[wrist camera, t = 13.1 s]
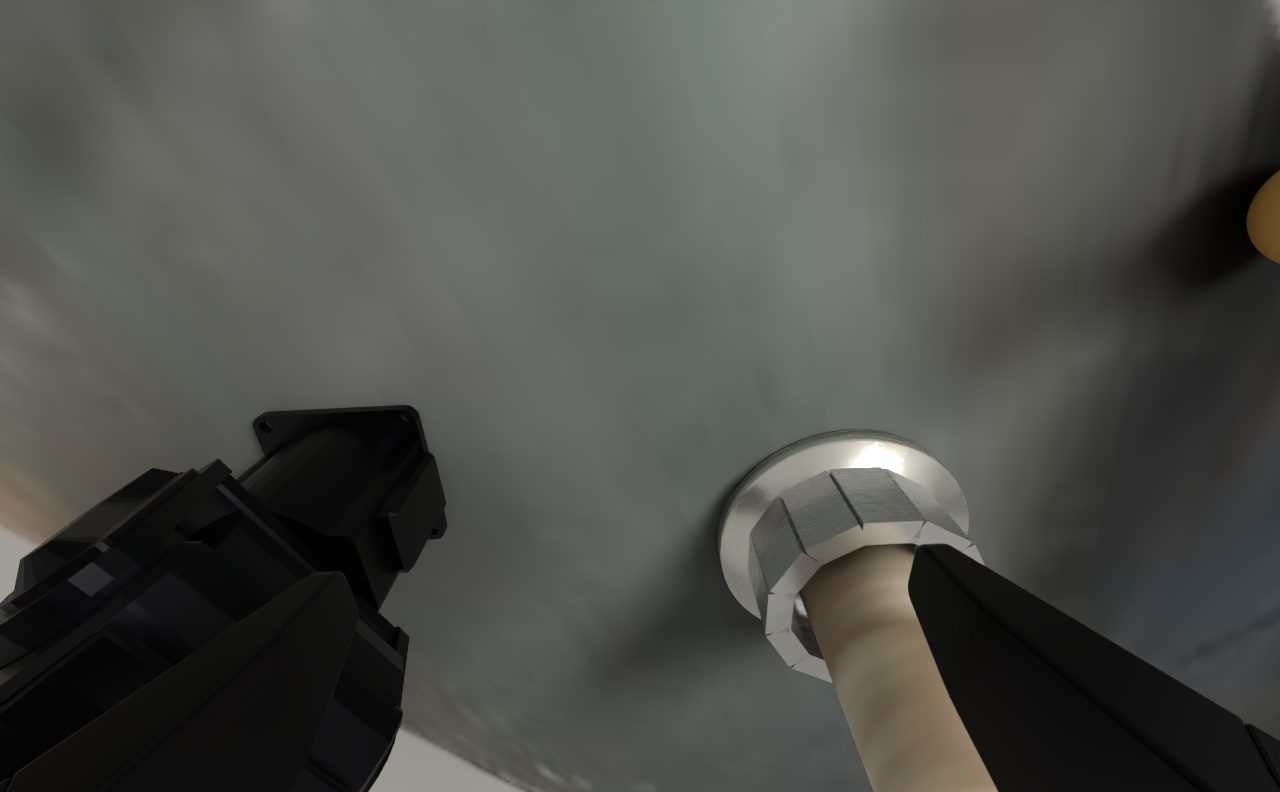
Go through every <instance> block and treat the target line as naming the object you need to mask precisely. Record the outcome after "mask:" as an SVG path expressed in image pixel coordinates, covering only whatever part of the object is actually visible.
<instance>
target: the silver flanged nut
mask: <svg viewBox="0 0 1280 792" xmlns="http://www.w3.org/2000/svg"><path fill="white" fill-rule="evenodd" d="M968 521H969V516H968V509H967V503H966V500H965V498H964V495H963V492H962V490H961V488H960V487H959V485H958V483H957V481H956V480H955V479H954V478H953V476H952V475H951V474H950V473H949V472H948V471H947V470H946V469H945V467H944V466H943V465H942V464H941V463H940V462H939V461H938V460H937V459H936V458H935V457H933V456H932V455H931V454H930V453H929V452H927V451H926V450H925V449H924V448H922V447H920V446H919V445H917V444H915V443H914V442H912V441H910V440H907V439H905V438H902V437H900V436H897V435H893V434H889V433H885V432H880V431H872V430H842V431H833V432H828V433H823V434H819V435H815V436H812V437H809V438H806V439H803V440H800V441H797V442H795V443H793V444H791V445H789V446H787V447H784V448H782V449H781V450H779V451H777V452H776V453H774V454H772V455H771V456H769V457H768V458H766V459H765V460H764V461H762V462H761V463H760V464H758V465H757V466H756V467H755V468H754V469H753V470H752V471H751V472H750V473H749V474H748V475H746V476H745V477H744V479H743V480H742V481H741V482H740V484H739V485H738V486H737V487H736V489H735V490H734V492H733V493H732V495H731V496H730V498H729V500H728V501H727V504H726V506H725V508H724V511H723V513H722V516H721V520H720V523H719V529H718V538H717V539H718V552H719V556H720V561H721V565H722V570H723V574H724V578H725V580H726V582H727V585H728V587H729V589H730V590H731V592H732V593H733V595H734V597H735V598H736V599H737V600H738V601H739V602H740V604H741V605H742V606H743V607H744V608H746V609H747V610H748V611H749V612H750V613H752V614H753V615H754V616H756V617H758V618H759V619H761V620H762V623H763V627H764V631H765V634H766V637H767V638H768V640H769V641H770V642H771V643H772V645H773V646H774V647H775V649H776V650H777V651H778V653H779V654H780V655H781V657H782V658H783V659H784V660H785V662H786V663H787V664H788V666H791V667H792V669H795V670H798V671H800V672H803V673H806V674H809V675H811V676H814V677H817V678H820V679H823V680H825V681H828V682H831V683H833V682H832V679H831V677H830V674H829V671H828V669H827V666H826V663H825V661H824V658H823V655H822V653H821V650H820V647H819V645H818V642H817V639H816V637H815V634H814V631H813V629H812V626H811V623H810V621H809V618H808V616H807V613H806V610H805V608H804V605H803V602H802V600H801V597H800V594H799V591H800V590H801V589H802V587H803V586H804V585H805V584H806V583H807V582H808V580H809V579H810V578H811V577H812V576H813V575H814V573H815V572H816V571H817V570H818V569H819V568H820V566H821V565H824V564H826V563H828V562H830V561H832V560H834V559H837V558H839V557H841V556H843V555H845V554H847V553H850V552H852V551H854V550H856V549H858V548H860V547H863V546H865V545H882V544H903V543H909V544H910V546H911V547H912V548H913V550H914V551H916V549H917V547H918V546H919V545H922V544H937V543H944V544H948V545H950V546H952V547H954V548H956V549H957V550H959V551H961V552H962V553H964V554H966V555H967V556H969V557H971V558H972V559H974V560H976V561H977V562H979V563H981V564H982V565H984V563H983V561H982V559H981V556H980V554H979V552H978V550H977V548H976V546H975V544H974V543H973V542H972V541H971V539H970V538H969V537H968V536H967V533H968ZM984 566H985V565H984Z"/></svg>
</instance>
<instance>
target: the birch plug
mask: <svg viewBox="0 0 1280 792" xmlns="http://www.w3.org/2000/svg"><path fill="white" fill-rule="evenodd" d="M914 555H915V551H914V550H913V548H912V547H911V546H910V544H909V543H903V544H882V545H865V546H863V547H860V548H858V549H856V550H854V551H852V552H850V553H847V554H845V555H843V556H841V557H839V558H837V559H834V560H832V561H830V562H828V563H826V564H824V565H821V566H820V568H819V569H818V570H817V571H816V572H815V573H814V575H813V576H812V577H811V578H810V579H809V580H808V582H807V583H806V584H805V585H804V586H803V587H802V589H801V590H800V591H799V594H800V597H801V600H802V602H803V605H804V608H805V610H806V613H807V616H808V618H809V621H810V623H811V626H812V629H813V631H814V634H815V637H816V639H817V642H818V645H819V647H820V650H821V653H822V655H823V658H824V661H825V663H826V666H827V669H828V671H829V674H830V677H831V679H832V682H833V685H834V687H835V690H836V693H837V695H838V698H839V701H840V703H841V706H842V709H843V711H844V714H845V717H846V719H847V722H848V725H849V727H850V730H851V732H852V735H853V738H854V740H855V743H856V746H857V748H858V751H859V754H860V756H861V759H862V762H863V764H864V767H865V770H866V772H867V775H868V778H869V780H870V783H871V786H872V788H873V791H874V792H998V791H997V789H996V787H995V785H994V783H993V781H992V779H991V777H990V775H989V773H988V771H987V769H986V767H985V765H984V763H983V762H982V760H981V758H980V756H979V754H978V752H977V750H976V748H975V746H974V744H973V742H972V740H971V738H970V736H969V734H968V733H967V731H966V729H965V727H964V725H963V723H962V721H961V719H960V717H959V715H958V713H957V711H956V709H955V707H954V705H953V703H952V701H951V699H950V697H949V695H948V692H947V690H946V688H945V685H944V683H943V681H942V678H941V676H940V673H939V671H938V668H937V666H936V663H935V661H934V658H933V656H932V653H931V651H930V648H929V646H928V643H927V641H926V638H925V636H924V633H923V631H922V628H921V626H920V623H919V621H918V618H917V616H916V613H915V611H914V608H913V606H912V603H911V600H910V598H909V593H908V581H909V576H910V572H911V568H912V563H913V559H914Z"/></svg>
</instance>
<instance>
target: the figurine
mask: <svg viewBox="0 0 1280 792" xmlns="http://www.w3.org/2000/svg"><path fill="white" fill-rule="evenodd" d="M1247 231H1248V235H1249V237H1250V239H1251V241H1252V243H1253V244H1254V246H1255V247H1256V248H1257V249H1258V250H1259V251H1260V252H1261V253H1262V254H1263V255H1265V256H1266V257H1268V258H1269V259H1271V260H1273V261H1275V262H1277V263H1279V264H1280V170H1279V171H1278V172H1276V173H1275V174H1274V175H1273V176H1272V177H1271V178H1270V179H1268V180H1267V181H1266V182H1265V184H1264V185H1263V186H1262V187H1261V188H1260V189H1259V191H1258V192H1257V194H1256V195H1255V197H1254V198H1253V200H1252V202H1251V205H1250V207H1249V210H1248V214H1247Z"/></svg>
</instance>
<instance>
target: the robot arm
mask: <svg viewBox="0 0 1280 792" xmlns="http://www.w3.org/2000/svg"><path fill="white" fill-rule="evenodd" d="M401 415H404V416H407V417H408V418H409V420H410V422H407V421H404V420H403V419H402V418H401ZM266 422H268V423H269V424H271V426H272V427H273V428H271V427H269V426H268V425H267V424H266ZM253 427H254V430H255V433H256V435H257V437H258V440H259V442H260V445H261V447H262V450H263V452H264V454H265V456H264V457H263V458H261V459H260V460H259V461H258V462H257V463H256V464H254V465H253V466H252V467H251V468H250V469H248V470H247V471H246V472H245V473H244V474H242V475H241V476H240V477H239V478H238V479H237V480H236V479H234V478H233V477H232V476H231V475H230V474H231V473H232V470H230V469H229V468H228V467H227V466H226V465H225V464H224V463H223V462H222V461H221V460H220V459H217V460H215V461H213V462H212V463H210V464H208V465H207V466H205V467H203V468H201V469H200V470H198V471H196V470H195V469H194V468H191V469H190V470H188V471H186V472H184V473H183V472H181V473H174V472H170V471H165V470H160V469H155V468H152V469H150V470H149V471H147V472H145V473H144V474H142V475H140V476H139V477H137V478H136V479H134V480H133V481H131V482H130V483H128V484H127V485H125V486H124V487H122V488H121V489H119V490H118V491H116V492H115V493H113V494H112V495H110V496H109V497H107V498H106V499H104V500H103V501H101V502H100V503H98V504H97V505H95V506H94V507H93V508H91V509H90V510H88V511H87V512H85V513H84V514H82V515H81V516H79V517H78V518H77V519H75V520H74V521H72V522H71V523H70V524H68V525H67V526H66V527H64V528H63V529H61V530H60V531H59V532H57V533H56V534H55V535H53V536H52V537H51V538H49V539H48V540H47V541H45V542H44V543H42V544H41V545H40V546H38V547H37V548H36V549H34V550H33V551H32V552H30V553H29V554H28V555H26V556H25V557H23V558H22V559H21V560H20V564H19V569H18V574H17V579H16V584H15V589H14V591H13V592H12V593H11V594H10V595H8V596H7V597H6V598H5V599H4V600H3V601H2V602H1V603H0V792H368V791H369V790H370V788H371V787H372V785H373V784H374V782H375V781H376V779H377V778H378V776H379V774H380V772H381V771H382V769H383V767H384V765H385V763H386V762H387V760H388V757H389V755H390V753H391V750H392V747H393V745H394V742H395V738H396V734H397V732H398V730H399V728H400V726H401V721H402V716H403V712H402V709H400V707H401V699H402V691H403V683H404V675H405V667H406V660H407V652H408V644H409V636H408V635H407V634H406V633H405V632H404V631H403V630H402V629H401V628H400V627H394V626H393V625H392V624H391V623H390V622H389V621H387V620H386V619H385V618H384V617H383V616H382V615H381V614H380V613H379V612H378V611H379V609H380V607H381V606H382V604H383V602H384V600H385V598H386V596H387V595H388V593H389V591H390V589H391V587H392V585H393V584H394V582H395V580H396V578H397V576H398V574H399V573H408V572H409V571H410V570H411V569H412V567H413V566H414V565H415V563H416V561H417V559H418V557H419V555H420V553H421V551H422V549H423V547H424V545H425V544H426V542H427V540H428V539H438V538H441V537H442V536H443V534H444V533H445V531H446V528H447V522H446V518H445V514H444V510H443V509H444V507H445V505H446V500H445V496H444V492H443V488H442V484H441V480H440V476H439V472H438V468H437V464H436V460H435V457H434V456H433V455H432V454H431V453H430V452H429V451H428V447H427V443H426V439H425V435H424V431H423V427H422V423H421V420H420V416H419V414H418V411H417V410H415V409H414V408H413V407H411V406H407V405H397V406H377V407H357V408H336V409H316V410H295V411H275V412H265V413H263V414H261V415H260V416H259V417H257V418H256V419H255V420H254V422H253ZM434 526H436V527H437V528H438V529H434ZM908 593H909V598H910V600H911V603H912V606H913V608H914V611H915V613H916V616H917V618H918V621H919V623H920V626H921V628H922V631H923V633H924V636H925V638H926V641H927V643H928V646H929V648H930V651H931V653H932V656H933V658H934V661H935V663H936V666H937V668H938V671H939V673H940V676H941V678H942V681H943V683H944V685H945V688H946V690H947V692H948V695H949V697H950V699H951V701H952V703H953V705H954V707H955V709H956V711H957V713H958V715H959V717H960V719H961V721H962V723H963V725H964V727H965V729H966V731H967V733H968V734H969V736H970V738H971V740H972V742H973V744H974V746H975V748H976V750H977V752H978V754H979V756H980V758H981V760H982V762H983V763H984V765H985V767H986V769H987V771H988V773H989V775H990V777H991V779H992V781H993V783H994V785H995V787H996V789H997V791H998V792H1280V741H1278V740H1277V739H1275V738H1273V737H1272V736H1270V735H1268V734H1267V733H1265V732H1263V731H1262V730H1260V729H1258V728H1257V727H1255V726H1253V725H1251V724H1248V723H1247V724H1244V723H1243V721H1242V720H1241V719H1240V718H1239V717H1238V716H1236V715H1234V714H1233V713H1231V712H1229V711H1228V710H1226V709H1224V708H1223V707H1221V706H1219V705H1218V704H1216V703H1214V702H1213V701H1211V700H1209V699H1208V698H1206V697H1204V696H1203V695H1201V694H1199V693H1198V692H1196V691H1194V690H1192V689H1191V688H1189V687H1187V686H1186V685H1184V684H1182V683H1181V682H1179V681H1177V680H1176V679H1174V678H1172V677H1171V676H1169V675H1167V674H1166V673H1164V672H1162V671H1161V670H1159V669H1157V668H1156V667H1154V666H1152V665H1150V664H1149V663H1147V662H1145V661H1144V660H1142V659H1140V658H1139V657H1137V656H1135V655H1134V654H1132V653H1130V652H1129V651H1127V650H1125V649H1124V648H1122V647H1120V646H1119V645H1117V644H1115V643H1114V642H1112V641H1110V640H1108V639H1107V638H1105V637H1103V636H1102V635H1100V634H1098V633H1097V632H1095V631H1093V630H1092V629H1090V628H1088V627H1087V626H1085V625H1083V624H1082V623H1080V622H1078V621H1077V620H1075V619H1073V618H1072V617H1070V616H1068V615H1066V614H1065V613H1063V612H1061V611H1060V610H1058V609H1056V608H1055V607H1053V606H1051V605H1050V604H1048V603H1046V602H1045V601H1043V600H1041V599H1040V598H1038V597H1036V596H1035V595H1033V594H1031V593H1029V592H1028V591H1026V590H1024V589H1023V588H1021V587H1019V586H1018V585H1016V584H1014V583H1013V582H1011V581H1009V580H1008V579H1006V578H1004V577H1003V576H1001V575H999V574H998V573H996V572H994V571H993V570H991V569H989V568H987V567H986V566H984V565H982V564H981V563H979V562H977V561H976V560H974V559H972V558H971V557H969V556H967V555H966V554H964V553H962V552H961V551H959V550H957V549H956V548H954V547H952V546H950V545H948V544H944V543H937V544H922V545H919V546H918V547H917V549H916V551H915V555H914V559H913V563H912V568H911V572H910V576H909V581H908Z"/></svg>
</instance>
